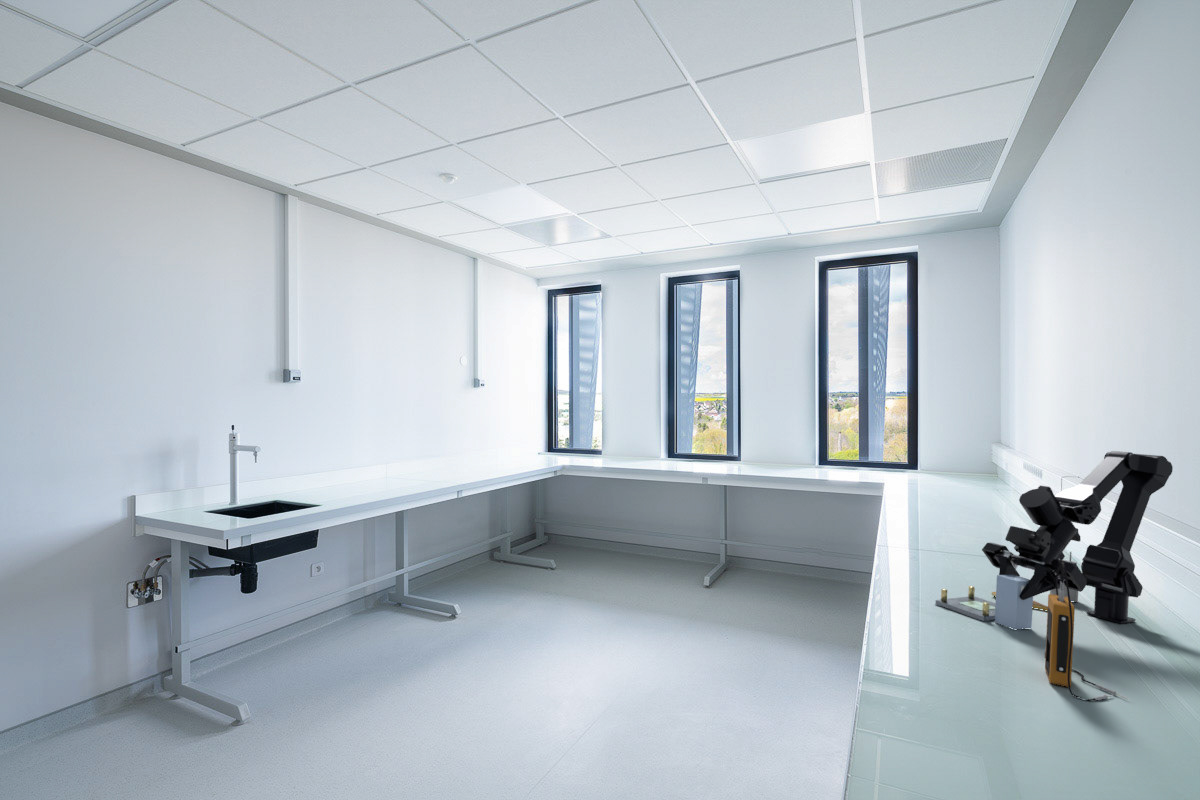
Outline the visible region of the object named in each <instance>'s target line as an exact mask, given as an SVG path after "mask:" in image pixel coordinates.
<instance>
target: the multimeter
mask: <svg viewBox="0 0 1200 800" xmlns="http://www.w3.org/2000/svg"><path fill="white" fill-rule="evenodd" d="M1058 557H1059V558H1060V560H1059V558H1058ZM1057 560H1058V562H1059V567H1058V571H1057V575H1056V594H1057V595H1053V594H1050V593H1049V594H1048V595H1047V596H1048V597H1047V606H1048V612H1047V617H1046V637H1045V652H1044V669H1045V670H1046V671H1045V672H1046V676H1047V678H1048V682H1049V684H1052V683H1053V684H1052V685H1056V684H1057V685H1056V686H1060V685H1061V687H1064V686H1066V688H1068V690H1069V693H1070V695H1072V696H1073V695H1074V696H1073V697H1075V696H1076V697H1075V698H1077V697H1080V698H1082V697H1081V696H1079V695H1076V694H1074V693H1073V690H1072V689H1071V687H1072V673H1073V672H1074V671H1075V672H1074V673H1076V672H1077V673H1076V674H1078V675H1080V676H1081V681H1084V682H1085V683H1088V684H1091V685H1092V686H1095V687H1096V688H1099V689H1100V690H1103V691H1105V692H1107V693H1110V694H1109V695H1107V694H1103V695H1100V696H1096V697H1094V698H1091V699H1088V700H1094V701H1095V700H1098V701H1101V700H1102V699H1103V700H1108V699H1109V697H1114V696H1119V697H1121V698H1124V699H1126V700H1129V698H1128V697H1126V696H1124V695H1122V694H1120V693H1117V691H1116V690H1112V689H1111V688H1110V689H1109V688H1107V687H1105V686H1103V685H1100V684H1097V683H1094V682H1091V681H1088V680H1086V679H1084V678H1085V676H1084V675H1083V673H1081V672H1079V671H1078V670H1076V669H1073V655H1074V654H1073V652H1074V651H1073V649H1074V631H1075V628H1074V627H1075V614H1076V611H1075V606H1074V603H1072V602H1071V601H1070V593H1069V586H1068V580H1067V574H1066V569H1065V565H1064V562H1062V558H1061V556H1057ZM1061 563H1062V565H1061ZM1060 567H1061V581H1060V589H1059V595H1058V586H1057V582H1058V575H1059V570H1060ZM1064 574H1065V580H1066V586H1067V593H1068V597H1064V589H1063V588H1064V587H1063V586H1064V583H1063V580H1064ZM1072 670H1074V671H1072ZM1103 700H1102V701H1103Z"/></svg>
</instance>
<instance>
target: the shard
mask: <svg viewBox="0 0 1200 800" xmlns="http://www.w3.org/2000/svg"><path fill="white" fill-rule="evenodd" d="M990 593H991V596H993V595H994V596H996V591H992V592H990ZM1033 608H1038V609H1043V610H1047V611H1048V605H1045V604H1043V603H1041V602H1039V601H1036V600H1033Z"/></svg>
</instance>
